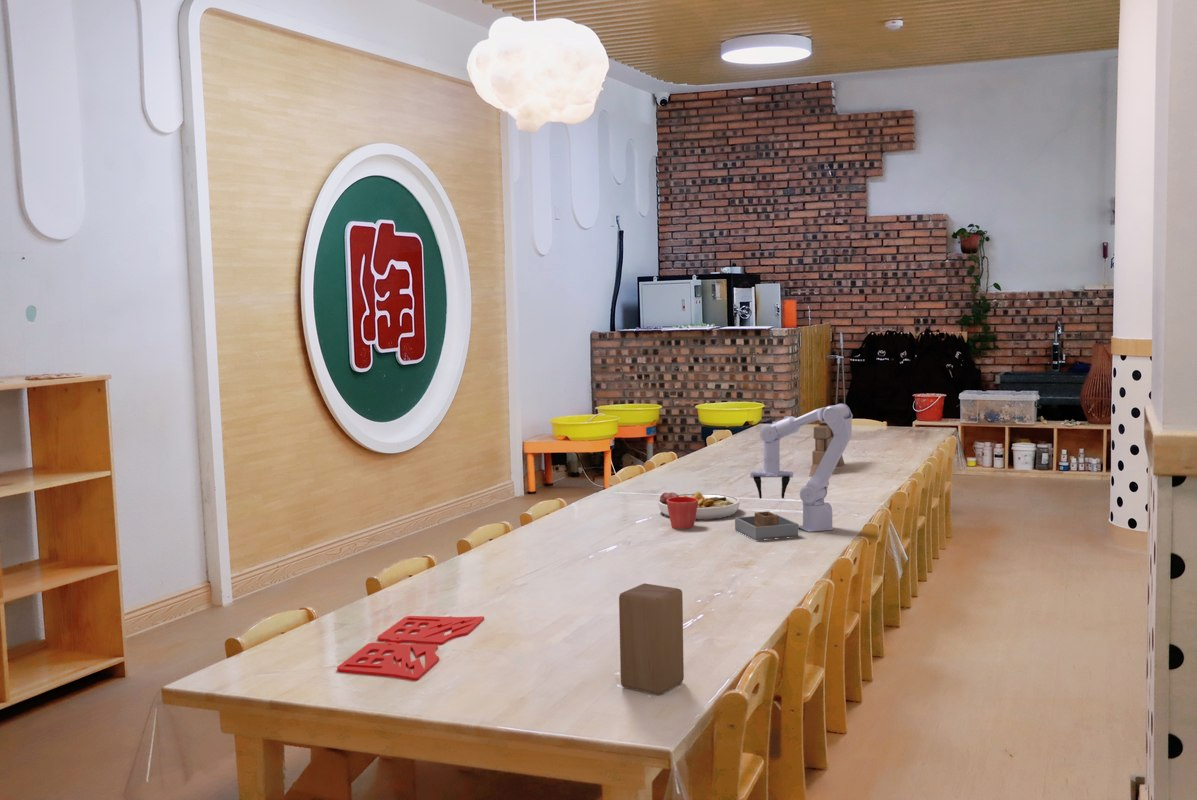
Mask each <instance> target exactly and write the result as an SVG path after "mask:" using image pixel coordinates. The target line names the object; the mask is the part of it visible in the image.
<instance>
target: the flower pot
mask: <svg viewBox="0 0 1197 800" xmlns="http://www.w3.org/2000/svg"><path fill="white" fill-rule="evenodd" d="M697 506H698V499H696V498H692V497H672V498H668V499H667V507H668V512H669V516H668V517H669V521H670V525H671V527H672V528H673V529H676V528H679V529H678V530H686V529H687V528H688V529H693V528H694V527H695V521H696V520H695V517H696V512H697ZM692 527H693V528H692Z"/></svg>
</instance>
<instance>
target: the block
mask: <svg viewBox="0 0 1197 800" xmlns="http://www.w3.org/2000/svg"><path fill="white" fill-rule="evenodd" d="M683 603H684V602H683V591H682V589H680V588H676V587H672V586H664V585H657V584H649V583H641V584H639V585H637V586H635V587H632V588H630V589H627V590H625V591H623V592H621V593H619V596H618V610H619V611H618V614H619V615H618V616H619V617H618V619H619V653H620V654H619V658H620V660H619V661H620V664H619V665H620V666H619V667H620V685H621V686H622V687H623V688H624V689H630V690H635V691H639V692H644V693H647V694H648V693H649V694H653V695H658V696H659V695H663V694H665V693H666V692H668V691H669V690H672V689H673V688H675V687H676V686H678V685H680V684H681V683H683V681H684V679H685V675H684V673H685V672H684V671H685V670H684V663H685V662H684V611H683V608H684V606H683Z"/></svg>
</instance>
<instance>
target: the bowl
mask: <svg viewBox="0 0 1197 800" xmlns="http://www.w3.org/2000/svg"><path fill="white" fill-rule="evenodd" d="M672 497H692V498H696V499H698V506H697V512H696V517H695V519H707V520H714V519H713V518H718V519H722V518H721V517H724V518H727V516H728V517H730V516H732V515H734V514H735V513H737V512H738V510H739V508H740V499H739V498H738V497H736V496H732V495H727V494H721V493H706V492H705V493H703V492H702V493H701V492H699V491H697V492H695V493H693V492H692V493H680V494H679V493H678V494H677V493H676V492H663V493H662V494H661V495H660V497H659V499H658V500H657V504H658V505H657V506H658V508H659V510H660V512H661V513H662V514H664V515H665V516H667V517H669V512H668V507H667V499H668V498H672Z"/></svg>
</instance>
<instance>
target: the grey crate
mask: <svg viewBox="0 0 1197 800" xmlns="http://www.w3.org/2000/svg"><path fill="white" fill-rule="evenodd" d="M774 514H775V515H778V525H775V526H763V527H755V515H752V516H751V515H750V516H740V517H739V516H738V517H737V516H736V517H734V531H735V530H736V532H737V531H738V532H737V533H739V532H740V533H739V534H741V533H742V534H741V535H743V534H744V535H743V536H745V535H746V536H745V537H747V536H748V537H747V538H749V537H750V538H749V539H751V538H752V539H754V540H763V541H765V540H764V539H774V540H776V539H775V538H786V539H788V538H787V537H797V538H799V527H798V526H799V523H797V522H795V521H793V520H790V519H788V518H786V517H783V516H781V515H779V514H776V513H774ZM752 539H751V540H752ZM754 540H753V541H754Z"/></svg>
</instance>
